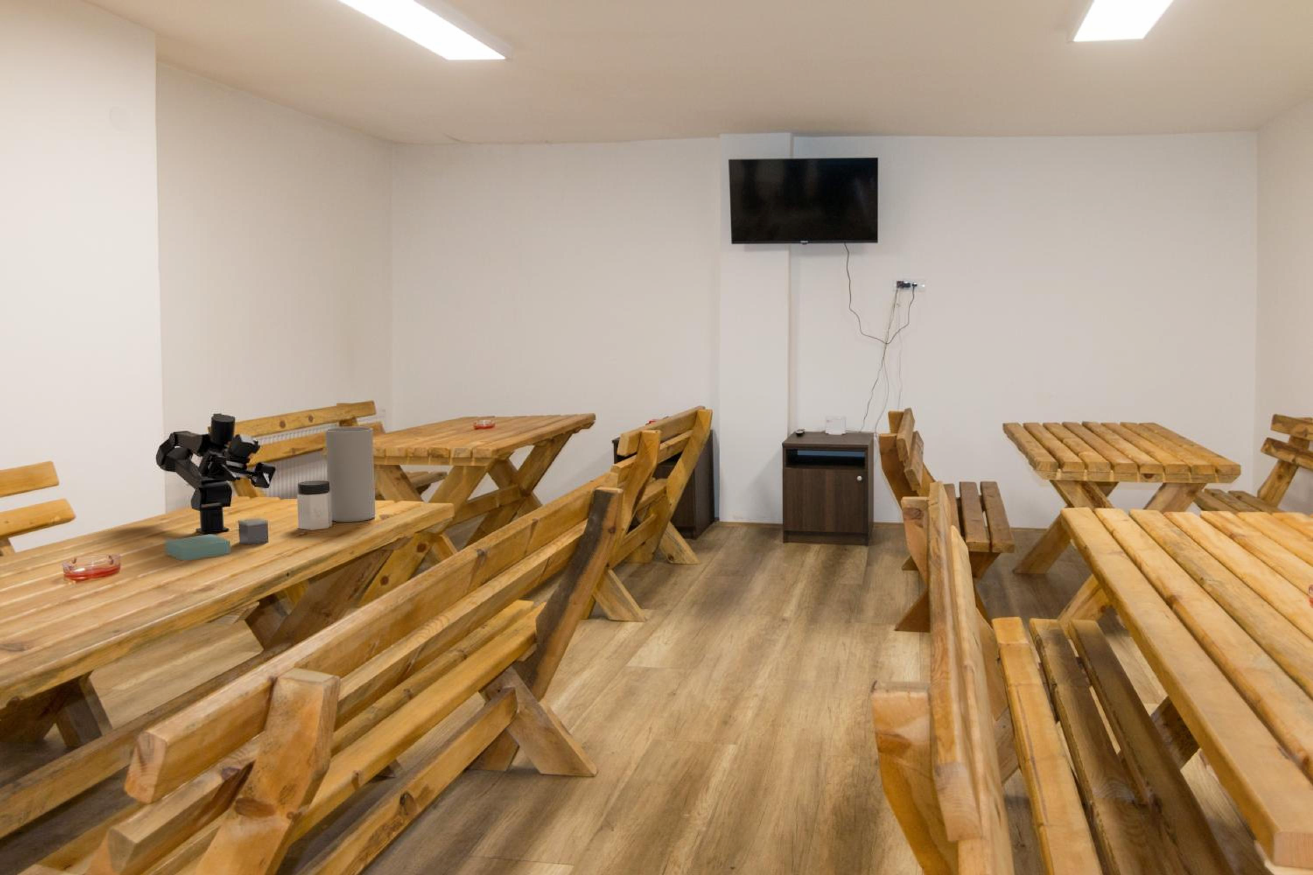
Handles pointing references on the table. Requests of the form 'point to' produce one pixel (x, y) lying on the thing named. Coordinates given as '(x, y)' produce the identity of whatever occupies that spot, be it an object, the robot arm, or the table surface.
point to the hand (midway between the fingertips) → (252, 483)
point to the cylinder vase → (351, 473)
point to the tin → (253, 531)
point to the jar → (314, 505)
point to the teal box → (197, 547)
